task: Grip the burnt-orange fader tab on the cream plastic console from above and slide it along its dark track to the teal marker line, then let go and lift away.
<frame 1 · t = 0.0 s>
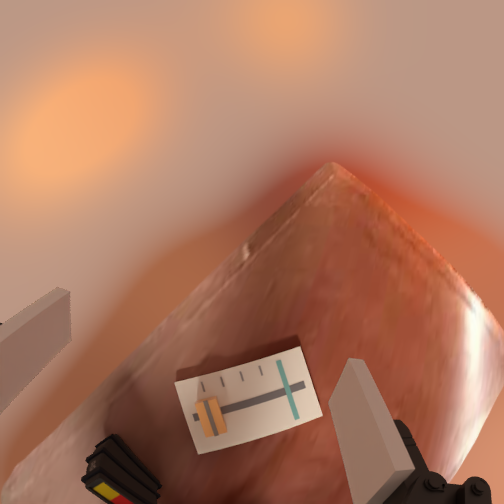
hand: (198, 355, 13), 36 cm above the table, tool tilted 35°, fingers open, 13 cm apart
fader tab: (211, 415, 39), point 5 cm above the table, slide at 6.0 cm
fader console: (248, 401, 45), on the table
magazine: (137, 467, 38), on the table
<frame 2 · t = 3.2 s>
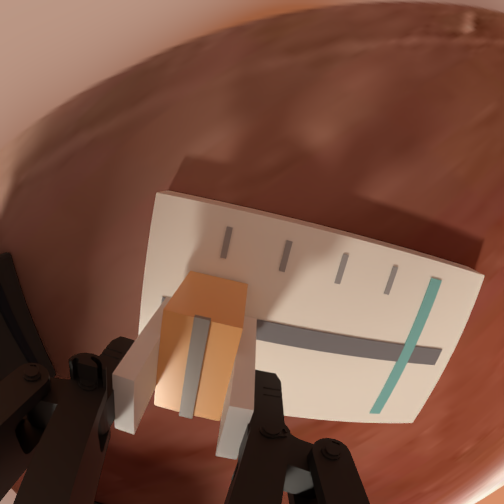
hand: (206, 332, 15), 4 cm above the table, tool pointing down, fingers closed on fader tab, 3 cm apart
fader tab: (202, 343, 14), point 5 cm above the table, slide at 6.0 cm, touching gripper
fader console: (312, 324, 19), on the table
magazine: (27, 329, 20), on the table
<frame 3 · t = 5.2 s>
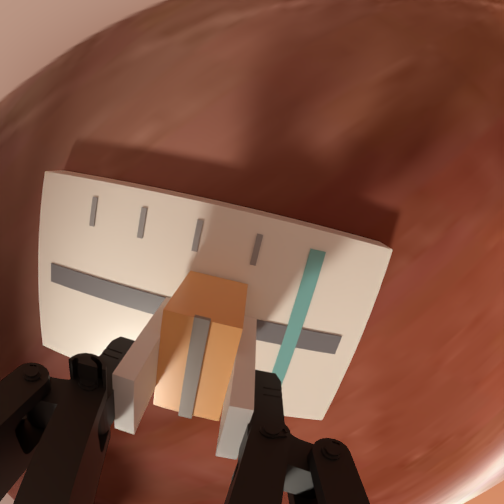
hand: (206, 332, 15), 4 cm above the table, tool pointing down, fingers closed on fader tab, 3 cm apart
fader tab: (202, 343, 14), point 5 cm above the table, slide at -1.5 cm, touching gripper
fader console: (191, 298, 18), on the table
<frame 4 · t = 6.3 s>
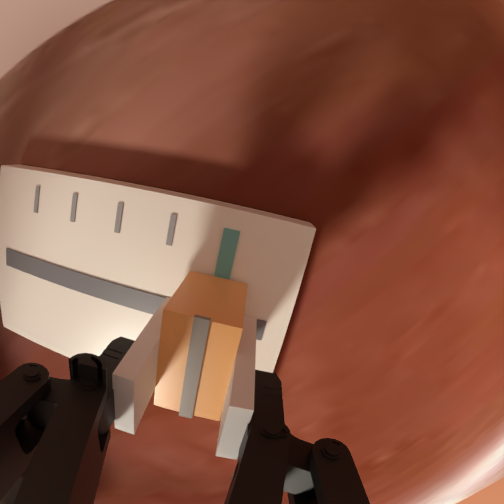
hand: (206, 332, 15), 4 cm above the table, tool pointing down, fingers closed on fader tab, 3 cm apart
fader tab: (202, 343, 14), point 5 cm above the table, slide at -5.9 cm, touching gripper
fader console: (125, 280, 18), on the table
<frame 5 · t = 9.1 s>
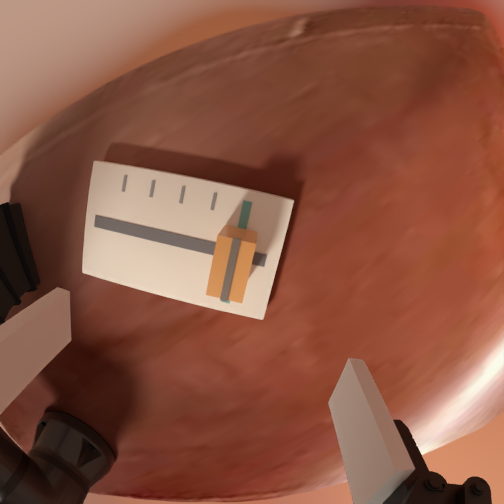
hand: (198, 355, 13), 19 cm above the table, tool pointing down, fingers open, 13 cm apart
fader tab: (232, 261, 27), point 5 cm above the table, slide at -6.0 cm
fader console: (179, 235, 31), on the table
magazine: (25, 253, 33), on the table
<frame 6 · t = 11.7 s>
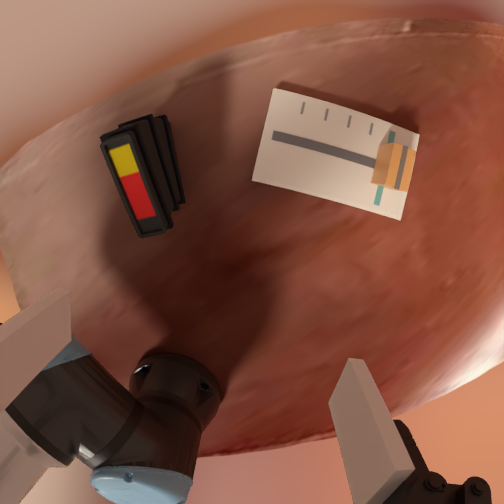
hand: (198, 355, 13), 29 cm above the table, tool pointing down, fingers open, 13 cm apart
fader tab: (393, 167, 34), point 5 cm above the table, slide at -6.0 cm
fader console: (338, 154, 38), on the table
magazine: (168, 170, 39), on the table
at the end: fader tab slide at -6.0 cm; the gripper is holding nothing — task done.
